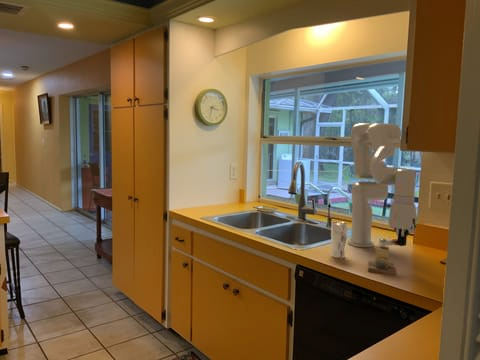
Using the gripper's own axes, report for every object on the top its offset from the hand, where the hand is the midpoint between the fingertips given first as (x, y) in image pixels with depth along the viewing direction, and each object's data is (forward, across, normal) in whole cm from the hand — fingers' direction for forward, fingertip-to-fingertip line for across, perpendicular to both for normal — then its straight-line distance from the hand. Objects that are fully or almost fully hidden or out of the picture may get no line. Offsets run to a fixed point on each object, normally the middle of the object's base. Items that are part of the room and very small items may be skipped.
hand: (401, 245), depth 156 cm
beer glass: (+10, -25, -10) cm, 29 cm away
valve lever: (+1, -3, -3) cm, 5 cm away
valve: (+10, -4, -6) cm, 13 cm away
